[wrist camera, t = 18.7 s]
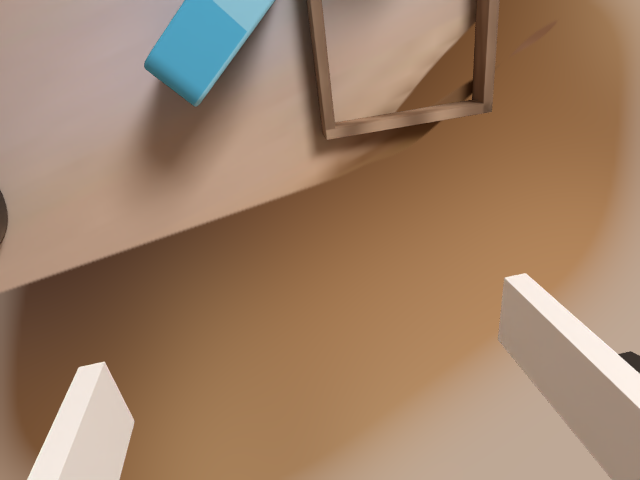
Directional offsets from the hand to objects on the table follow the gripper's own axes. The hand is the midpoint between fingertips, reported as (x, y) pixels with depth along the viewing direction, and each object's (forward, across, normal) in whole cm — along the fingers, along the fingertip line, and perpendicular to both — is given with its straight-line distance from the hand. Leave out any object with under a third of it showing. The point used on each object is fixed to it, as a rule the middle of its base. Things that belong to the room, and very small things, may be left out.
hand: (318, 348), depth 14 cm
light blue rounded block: (+35, -2, +10) cm, 36 cm away
